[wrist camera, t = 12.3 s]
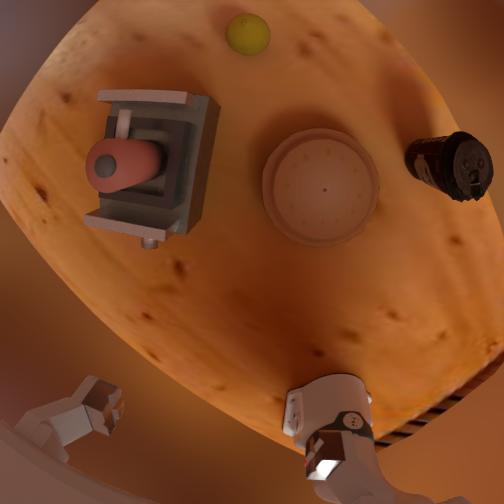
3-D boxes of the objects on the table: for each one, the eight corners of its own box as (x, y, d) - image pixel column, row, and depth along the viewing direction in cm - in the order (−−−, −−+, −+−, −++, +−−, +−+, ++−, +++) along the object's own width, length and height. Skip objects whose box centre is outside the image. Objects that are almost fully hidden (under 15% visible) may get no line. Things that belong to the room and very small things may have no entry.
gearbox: (197, 244, 41) (170, 284, 29) (124, 230, 41) (78, 261, 29) (220, 107, 35) (199, 86, 22) (140, 100, 34) (92, 85, 22)
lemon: (253, 69, 32) (249, 49, 25) (221, 49, 31) (211, 27, 24) (278, 42, 31) (280, 19, 23) (246, 23, 30) (242, -3, 22)
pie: (341, 112, 34) (352, 107, 29) (384, 211, 38) (398, 219, 34) (241, 159, 37) (237, 160, 32) (292, 256, 41) (295, 269, 37)
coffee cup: (428, 199, 37) (479, 220, 25) (389, 171, 36) (437, 182, 24) (449, 152, 34) (504, 159, 22) (412, 122, 33) (464, 116, 21)
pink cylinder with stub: (163, 183, 31) (124, 197, 22) (126, 178, 30) (80, 190, 21) (173, 118, 28) (136, 107, 19) (135, 115, 28) (89, 107, 19)
